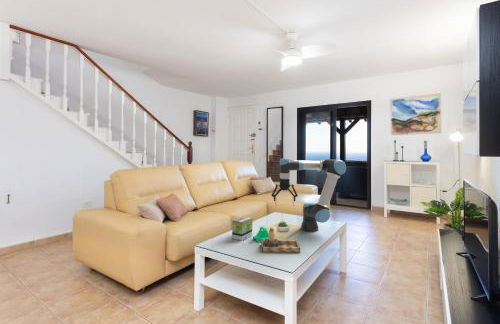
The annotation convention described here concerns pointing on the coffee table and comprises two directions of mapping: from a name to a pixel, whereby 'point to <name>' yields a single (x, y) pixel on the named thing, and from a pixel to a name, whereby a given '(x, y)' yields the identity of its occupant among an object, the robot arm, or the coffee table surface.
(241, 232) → the tea box
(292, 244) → the inlet box
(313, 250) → the coffee table surface
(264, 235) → the green lumpy mound
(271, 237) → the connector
